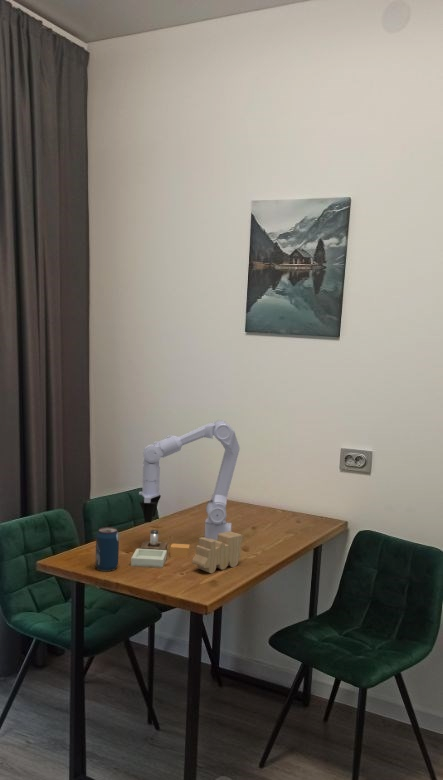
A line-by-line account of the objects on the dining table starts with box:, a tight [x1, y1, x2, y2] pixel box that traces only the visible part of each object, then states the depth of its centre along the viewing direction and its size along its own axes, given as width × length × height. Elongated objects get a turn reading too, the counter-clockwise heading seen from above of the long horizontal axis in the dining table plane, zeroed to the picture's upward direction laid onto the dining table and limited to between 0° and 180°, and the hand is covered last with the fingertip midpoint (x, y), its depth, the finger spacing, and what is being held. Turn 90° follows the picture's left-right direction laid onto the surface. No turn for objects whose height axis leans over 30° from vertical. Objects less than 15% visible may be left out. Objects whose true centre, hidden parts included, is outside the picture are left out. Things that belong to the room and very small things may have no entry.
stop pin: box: [149, 529, 159, 547], centre depth 215 cm, size 3×3×7 cm
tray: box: [130, 548, 168, 569], centre depth 206 cm, size 10×10×2 cm
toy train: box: [191, 530, 245, 575], centre depth 203 cm, size 6×17×10 cm, turn 135°
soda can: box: [94, 526, 120, 572], centre depth 198 cm, size 7×7×12 cm
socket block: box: [139, 540, 168, 551], centre depth 216 cm, size 8×8×2 cm
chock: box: [169, 543, 191, 559], centre depth 213 cm, size 6×4×4 cm, turn 87°
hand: (149, 519), depth 221 cm, fingers open, 7 cm apart
